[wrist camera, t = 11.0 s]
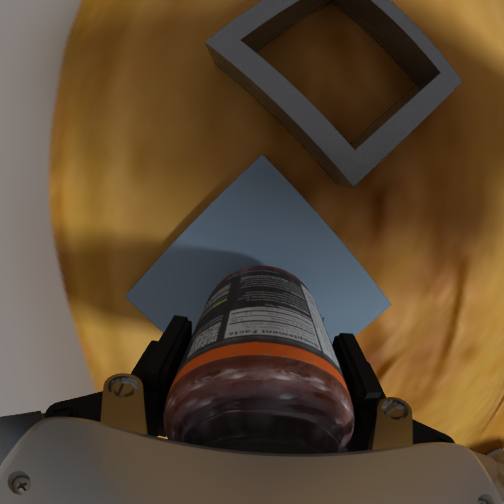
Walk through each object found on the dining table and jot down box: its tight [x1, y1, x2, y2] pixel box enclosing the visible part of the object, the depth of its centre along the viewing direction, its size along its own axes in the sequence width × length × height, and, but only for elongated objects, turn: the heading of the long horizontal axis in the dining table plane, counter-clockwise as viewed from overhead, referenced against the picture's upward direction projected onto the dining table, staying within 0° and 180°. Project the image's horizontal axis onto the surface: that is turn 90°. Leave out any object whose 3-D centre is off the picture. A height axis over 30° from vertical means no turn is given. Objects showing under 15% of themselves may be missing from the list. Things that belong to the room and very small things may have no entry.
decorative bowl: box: [486, 448, 504, 504], centre depth 20 cm, size 27×27×12 cm
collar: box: [205, 0, 463, 187], centre depth 12 cm, size 10×10×3 cm
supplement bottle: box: [163, 266, 355, 454], centre depth 10 cm, size 6×6×11 cm
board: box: [125, 154, 392, 344], centre depth 17 cm, size 12×12×1 cm
